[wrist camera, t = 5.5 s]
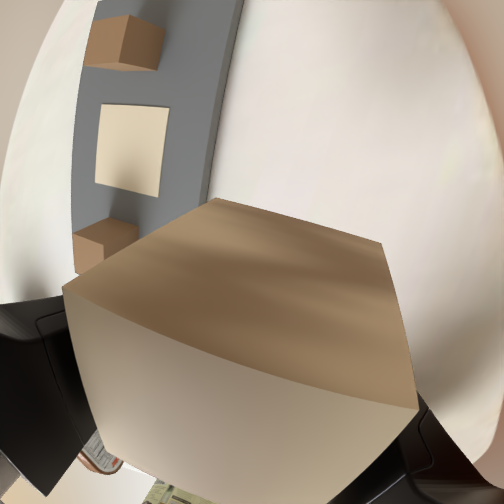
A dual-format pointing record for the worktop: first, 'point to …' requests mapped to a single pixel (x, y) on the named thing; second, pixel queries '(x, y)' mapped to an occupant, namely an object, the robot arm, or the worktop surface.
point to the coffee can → (172, 495)
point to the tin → (98, 457)
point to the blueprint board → (146, 118)
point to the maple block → (244, 355)
